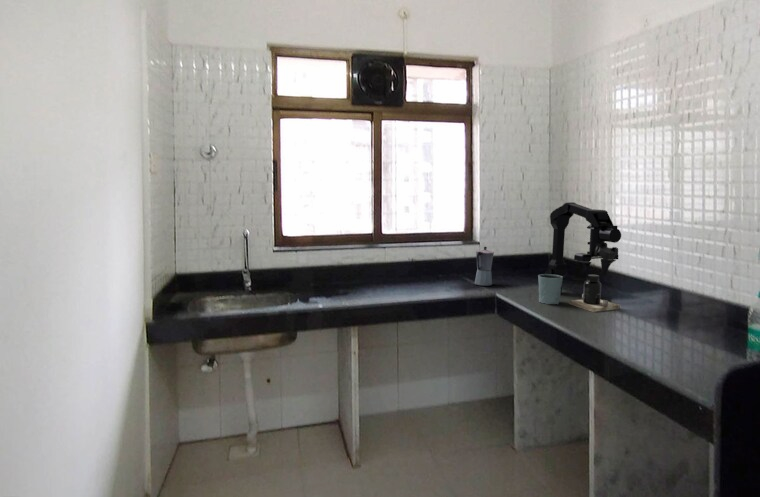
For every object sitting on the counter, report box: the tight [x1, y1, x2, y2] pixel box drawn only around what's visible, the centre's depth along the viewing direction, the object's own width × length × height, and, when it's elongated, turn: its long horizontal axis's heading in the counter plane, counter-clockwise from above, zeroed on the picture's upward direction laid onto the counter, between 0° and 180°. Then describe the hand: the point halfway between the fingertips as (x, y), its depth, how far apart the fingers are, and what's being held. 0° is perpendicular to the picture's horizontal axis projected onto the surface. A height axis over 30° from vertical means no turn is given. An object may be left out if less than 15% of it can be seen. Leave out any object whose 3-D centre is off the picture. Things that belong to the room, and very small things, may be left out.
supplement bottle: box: [582, 274, 602, 305], centre depth 209 cm, size 7×7×12 cm
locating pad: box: [569, 293, 621, 313], centre depth 210 cm, size 14×14×4 cm
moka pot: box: [474, 246, 494, 287], centre depth 256 cm, size 10×15×20 cm, turn 148°
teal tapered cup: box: [537, 273, 563, 305], centre depth 217 cm, size 10×10×12 cm
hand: (595, 276), depth 209 cm, fingers open, 9 cm apart
